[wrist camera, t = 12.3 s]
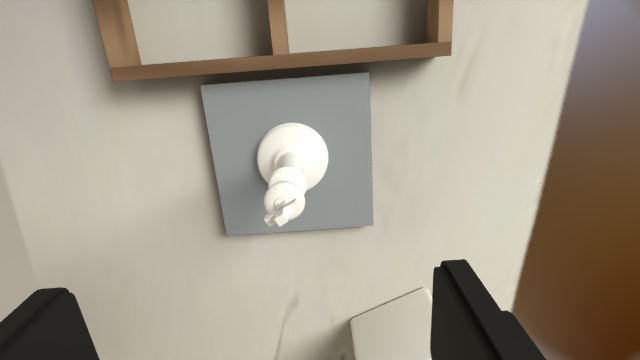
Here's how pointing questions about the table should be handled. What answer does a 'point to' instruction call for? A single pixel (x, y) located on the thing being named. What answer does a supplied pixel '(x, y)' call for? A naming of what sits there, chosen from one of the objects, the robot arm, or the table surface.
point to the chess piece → (290, 169)
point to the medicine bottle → (395, 329)
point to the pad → (292, 107)
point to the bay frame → (128, 64)
